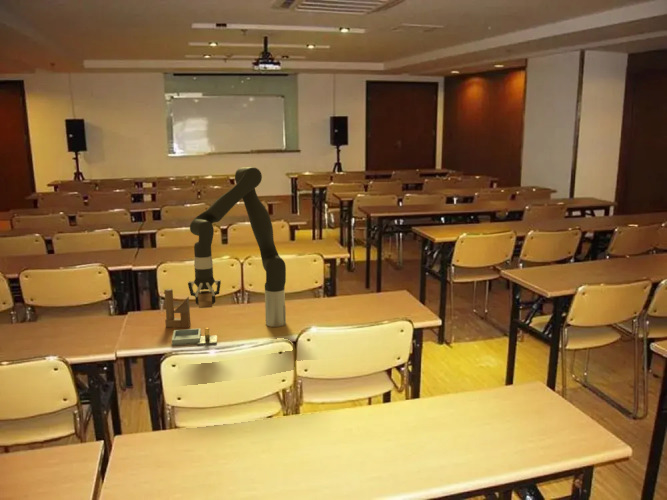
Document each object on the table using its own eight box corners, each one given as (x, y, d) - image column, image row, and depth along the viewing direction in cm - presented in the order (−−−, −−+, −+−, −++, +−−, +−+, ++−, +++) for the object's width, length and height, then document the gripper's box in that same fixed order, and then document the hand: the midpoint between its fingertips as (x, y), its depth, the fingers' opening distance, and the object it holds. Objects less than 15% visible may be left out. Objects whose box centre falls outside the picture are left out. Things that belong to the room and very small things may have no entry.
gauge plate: (217, 337, 249) (216, 324, 247) (216, 344, 241) (216, 331, 240) (198, 338, 247) (197, 325, 246) (197, 345, 240) (197, 332, 238)
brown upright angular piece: (188, 327, 260) (186, 290, 256) (165, 327, 260) (162, 290, 256) (190, 324, 263) (188, 288, 259) (167, 324, 263) (165, 288, 259)
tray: (200, 333, 253) (200, 328, 252) (199, 343, 242) (199, 338, 241) (174, 335, 251) (174, 330, 250) (172, 345, 240) (171, 340, 239)
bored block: (212, 303, 244) (211, 290, 242) (212, 307, 238) (211, 293, 237) (199, 303, 243) (198, 290, 241) (198, 308, 237) (198, 294, 236)
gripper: (221, 263, 241) (222, 300, 245) (186, 264, 239) (188, 302, 242) (220, 267, 234) (222, 306, 238) (185, 269, 231) (187, 308, 235)
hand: (205, 304), depth 240 cm, fingers closed on bored block, 5 cm apart
